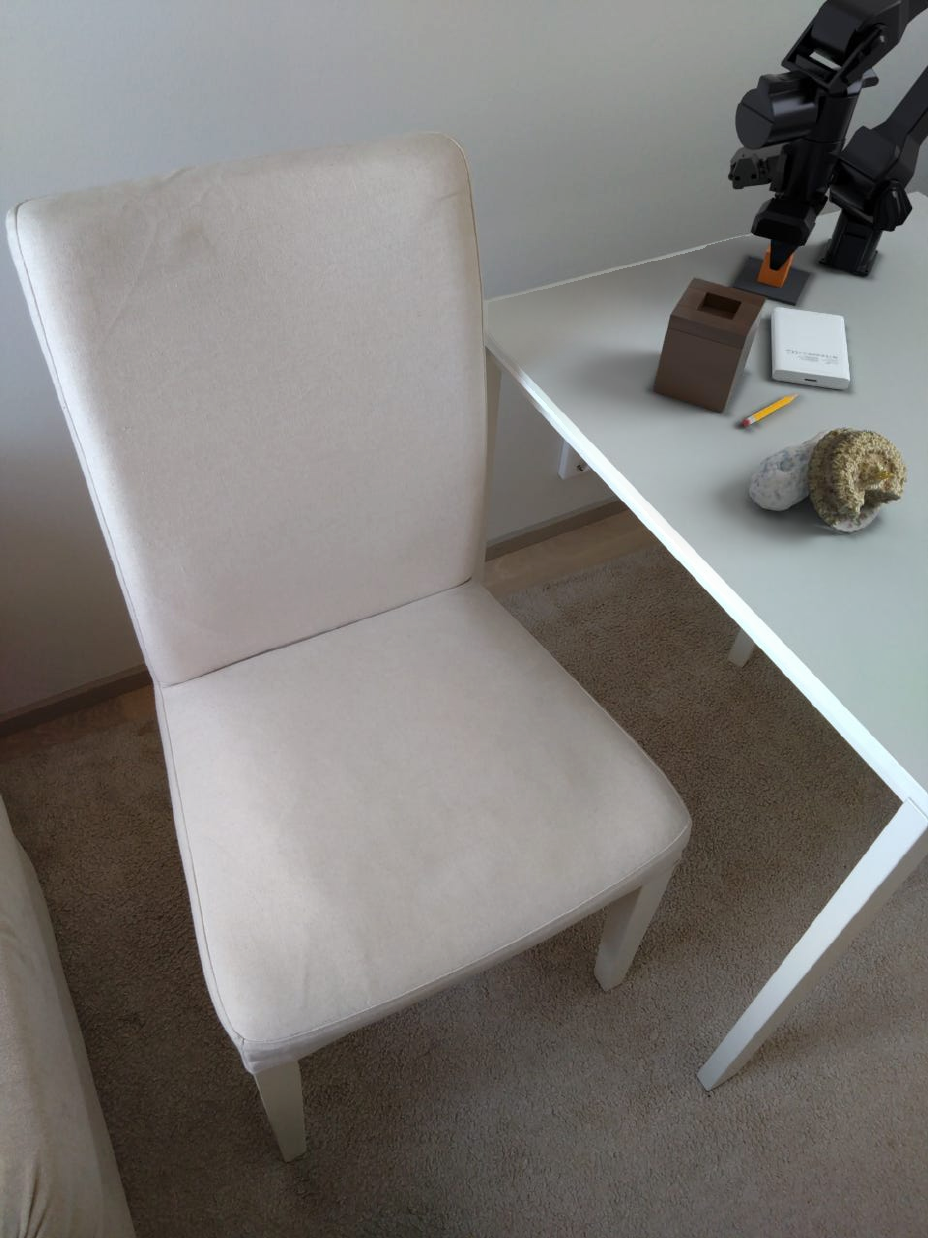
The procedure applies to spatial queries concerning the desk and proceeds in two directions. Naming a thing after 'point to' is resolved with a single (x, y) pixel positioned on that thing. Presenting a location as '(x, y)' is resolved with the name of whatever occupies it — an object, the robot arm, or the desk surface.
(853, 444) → the coral piece
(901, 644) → the desk surface
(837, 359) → the hard drive
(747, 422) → the pencil
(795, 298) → the coaster
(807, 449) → the decorative stone
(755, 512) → the desk surface
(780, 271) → the block
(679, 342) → the holder
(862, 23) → the robot arm
